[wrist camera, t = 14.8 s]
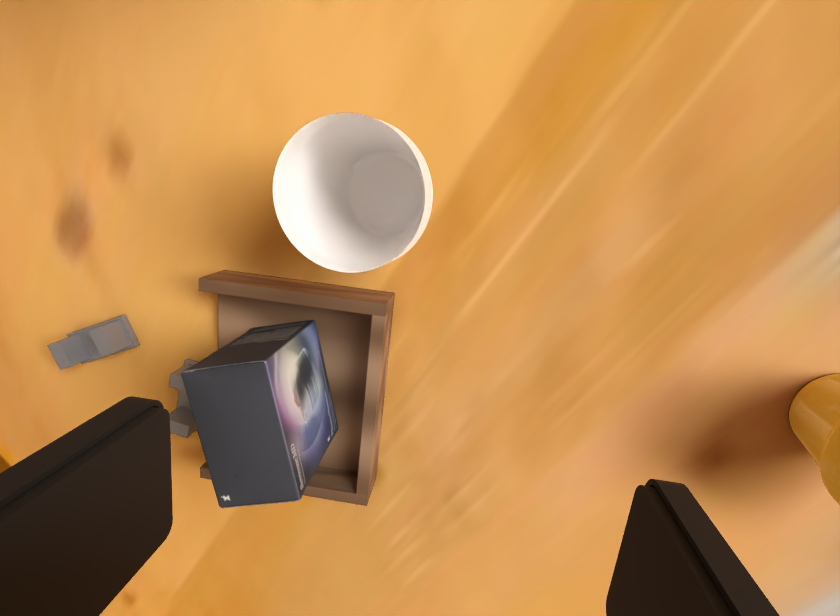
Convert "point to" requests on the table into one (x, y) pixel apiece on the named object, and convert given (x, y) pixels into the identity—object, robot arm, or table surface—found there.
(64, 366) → the clip
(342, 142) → the cup
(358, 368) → the holder
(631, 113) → the table surface
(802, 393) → the plant pot
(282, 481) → the small box
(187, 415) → the clip
